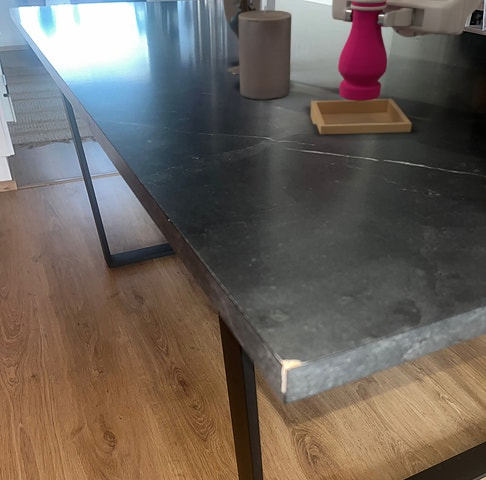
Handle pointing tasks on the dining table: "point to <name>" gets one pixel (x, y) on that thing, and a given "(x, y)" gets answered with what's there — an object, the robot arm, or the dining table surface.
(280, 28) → the pillar candle
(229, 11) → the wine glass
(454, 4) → the robot arm
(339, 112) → the tray
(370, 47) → the pepper mill
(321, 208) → the dining table surface
